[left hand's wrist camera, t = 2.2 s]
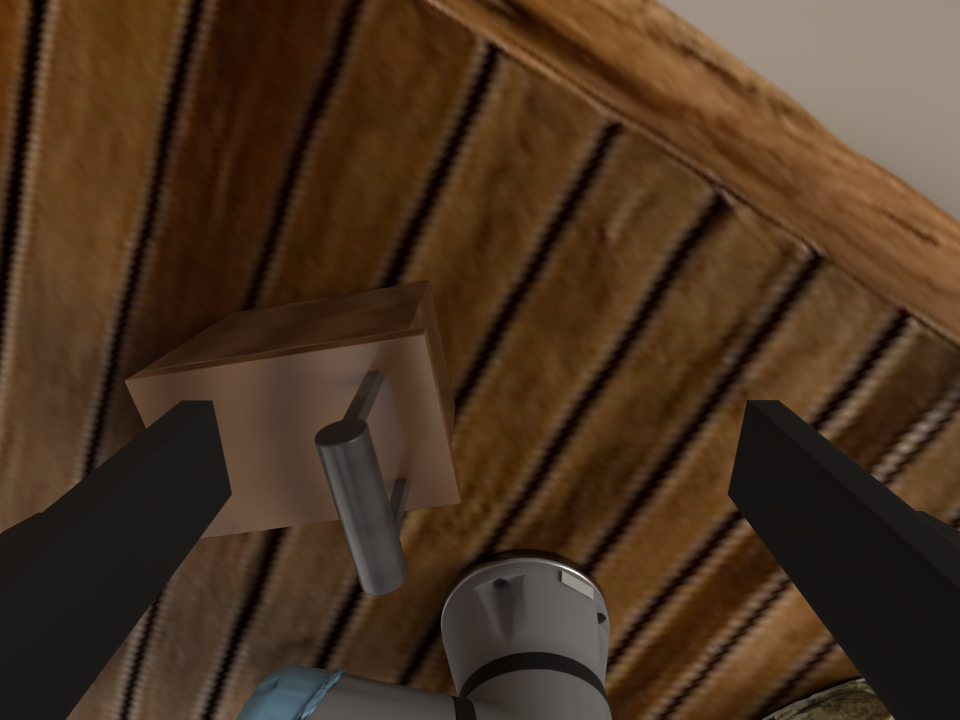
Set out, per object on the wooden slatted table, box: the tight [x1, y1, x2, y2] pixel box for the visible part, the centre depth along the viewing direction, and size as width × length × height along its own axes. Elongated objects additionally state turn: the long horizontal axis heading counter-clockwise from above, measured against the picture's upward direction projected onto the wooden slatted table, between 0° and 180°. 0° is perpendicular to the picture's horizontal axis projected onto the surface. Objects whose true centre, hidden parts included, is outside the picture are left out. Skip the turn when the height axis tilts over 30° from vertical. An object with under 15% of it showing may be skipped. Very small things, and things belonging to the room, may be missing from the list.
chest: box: [140, 281, 455, 443], centre depth 34 cm, size 15×10×11 cm
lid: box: [125, 328, 461, 596], centre depth 25 cm, size 16×10×8 cm, turn 99°
